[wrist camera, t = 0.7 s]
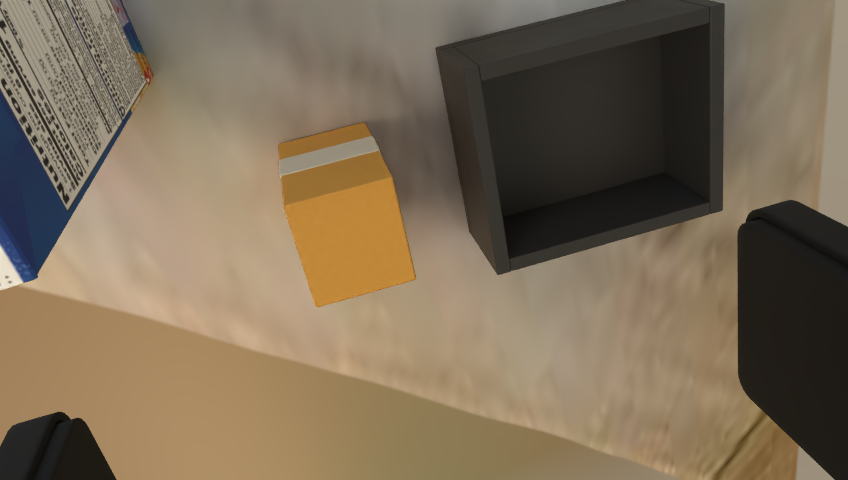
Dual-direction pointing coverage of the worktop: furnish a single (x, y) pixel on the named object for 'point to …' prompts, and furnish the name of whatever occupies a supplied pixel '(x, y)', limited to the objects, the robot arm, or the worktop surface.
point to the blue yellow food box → (58, 116)
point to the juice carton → (344, 214)
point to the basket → (587, 127)
